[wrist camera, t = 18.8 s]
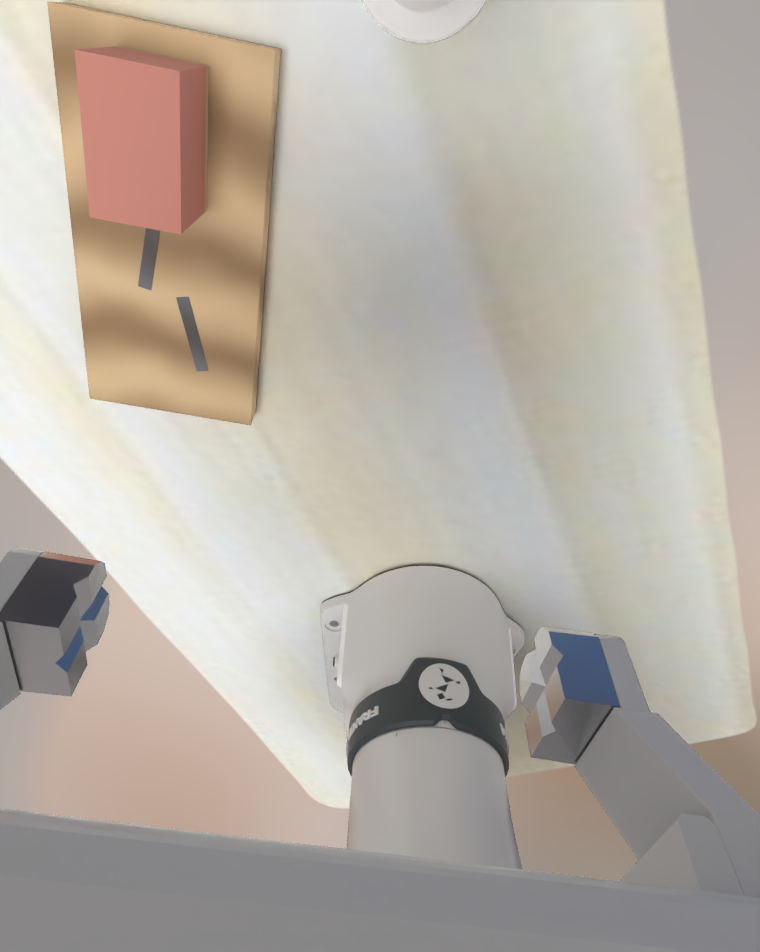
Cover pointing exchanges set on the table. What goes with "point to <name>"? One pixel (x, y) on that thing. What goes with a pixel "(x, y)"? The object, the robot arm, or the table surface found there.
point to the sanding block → (144, 137)
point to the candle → (423, 17)
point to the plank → (176, 255)
